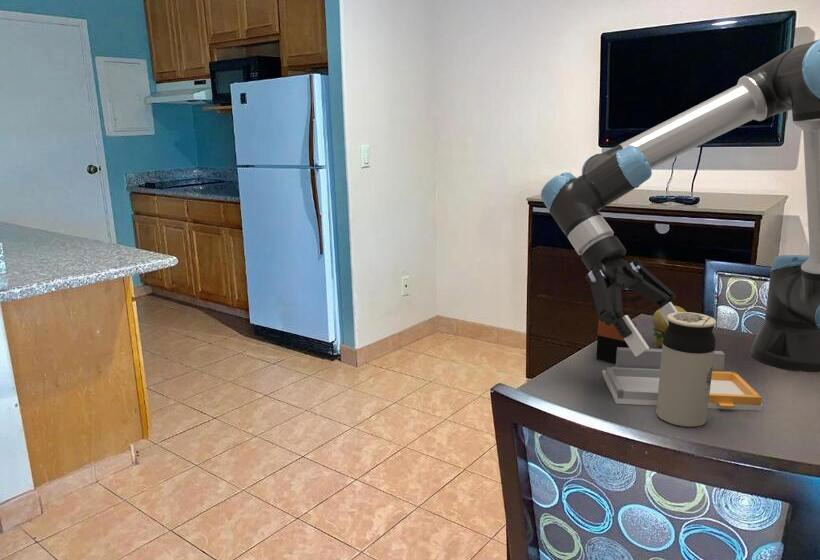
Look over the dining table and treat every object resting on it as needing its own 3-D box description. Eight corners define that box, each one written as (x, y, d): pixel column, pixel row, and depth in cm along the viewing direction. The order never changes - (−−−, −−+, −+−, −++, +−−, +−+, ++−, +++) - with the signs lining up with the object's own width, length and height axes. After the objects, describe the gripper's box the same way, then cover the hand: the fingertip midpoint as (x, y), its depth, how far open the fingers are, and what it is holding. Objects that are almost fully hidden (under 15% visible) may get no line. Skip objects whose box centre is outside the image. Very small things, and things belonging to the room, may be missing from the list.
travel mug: (648, 417, 104) (657, 318, 100) (667, 403, 109) (676, 308, 105) (695, 433, 98) (707, 328, 94) (713, 417, 104) (725, 317, 100)
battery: (625, 367, 127) (628, 322, 125) (595, 359, 131) (598, 315, 129) (633, 362, 130) (637, 317, 128) (604, 354, 135) (607, 311, 132)
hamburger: (691, 352, 135) (697, 301, 133) (677, 360, 131) (682, 307, 128) (658, 344, 141) (663, 294, 138) (643, 351, 136) (648, 300, 133)
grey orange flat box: (731, 380, 120) (735, 344, 118) (765, 413, 105) (770, 374, 103) (602, 374, 123) (604, 340, 121) (617, 406, 108) (620, 367, 107)
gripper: (623, 250, 122) (686, 340, 113) (540, 266, 107) (606, 370, 99) (649, 227, 116) (718, 319, 108) (566, 240, 102) (638, 348, 93)
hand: (665, 344), depth 103 cm, fingers open, 13 cm apart
